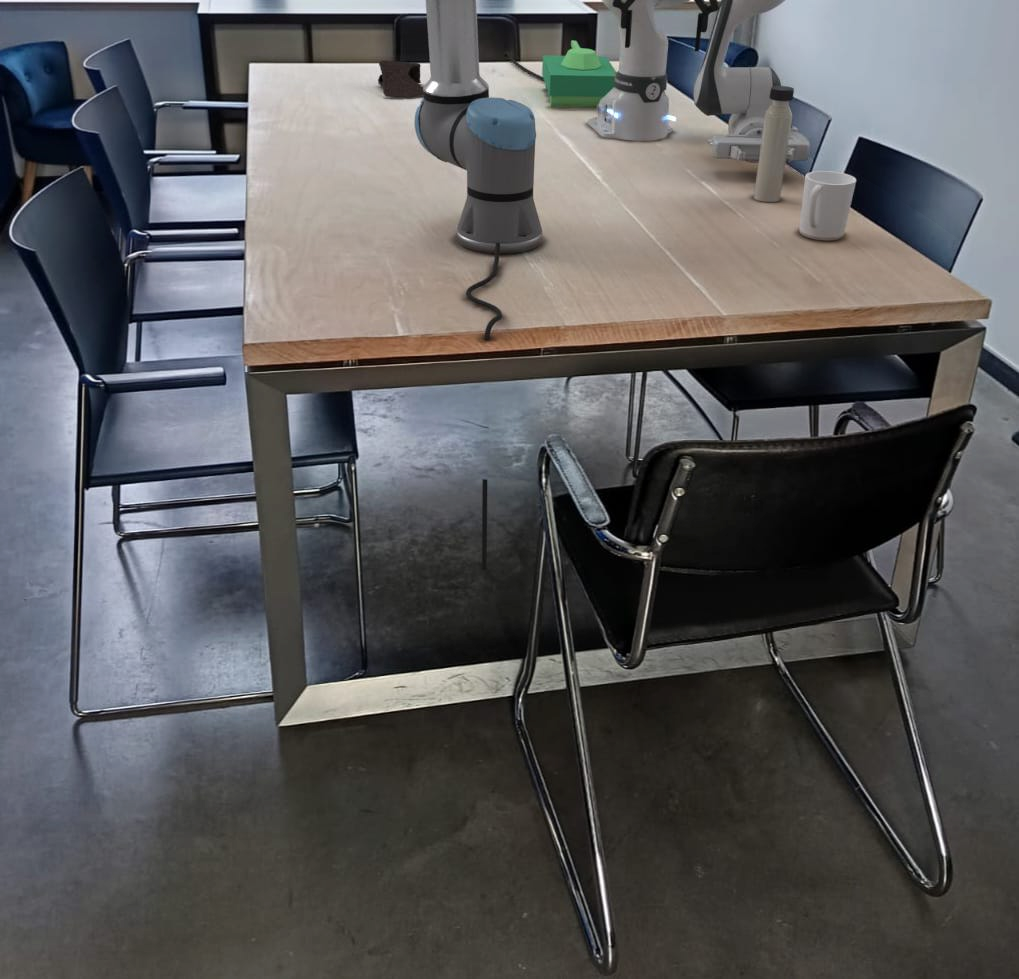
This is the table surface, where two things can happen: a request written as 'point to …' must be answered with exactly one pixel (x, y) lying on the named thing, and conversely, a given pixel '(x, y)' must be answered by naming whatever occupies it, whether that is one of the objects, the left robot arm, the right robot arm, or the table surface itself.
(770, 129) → the bottle
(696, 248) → the table surface
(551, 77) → the toy tank
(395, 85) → the axe head
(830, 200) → the mug
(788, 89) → the cap
